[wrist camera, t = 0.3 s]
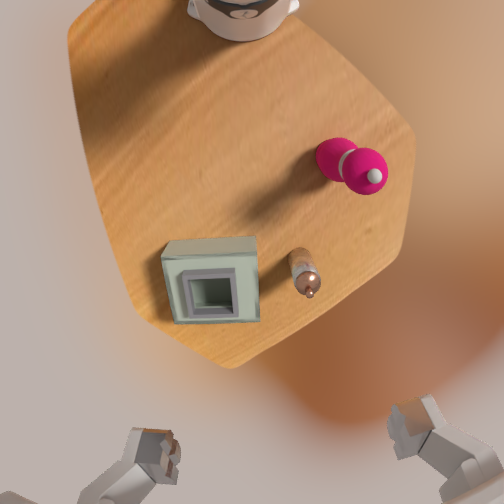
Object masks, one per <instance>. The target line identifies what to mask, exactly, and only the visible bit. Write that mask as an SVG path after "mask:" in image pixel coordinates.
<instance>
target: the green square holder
mask: <svg viewBox="0 0 504 504" xmlns="http://www.w3.org/2000/svg"><path fill="white" fill-rule="evenodd" d="M160 257H161V262H162V267H163V273H164V278H165V283H166V288H167V292H168V297H169V302H170V306H171V311H172V315H173V320H174V324H219V323H246V322H260V305H259V285H258V264H257V246H256V236H242V237H224V238H206V239H190V240H173V241H169V243H168V245H167V246H166V248H165V250H164V251H163V253H162V255H161V256H160Z"/></svg>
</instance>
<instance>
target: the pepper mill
mask: <svg viewBox="0 0 504 504" xmlns="http://www.w3.org/2000/svg"><path fill="white" fill-rule="evenodd" d="M316 162H317V165H318V166H319V168H320V170H321V172H322V173H323V174H324V175H325V176H326V177H327V178H329V179H331V180H333V181H336V182H345V183H346V185H347V186H348V187H349V188H350V189H351V190H352V191H354V192H356V193H358V194H362V195H370V194H374V193H376V192H378V191H379V190H380V189H382V187H383V186H384V185H385V183H386V181H387V178H388V168H387V164H386V162H385V160H384V158H383V157H382V156H381V155H380V154H379V153H378V152H376V151H375V150H372V149H369V148H358V147H357V146H356V145H355V144H354V143H353V142H351V141H350V140H347V139H345V138H333V139H329V140H326V141H324V142H323V143H321V144H320V145H319V147H318V149H317V151H316Z"/></svg>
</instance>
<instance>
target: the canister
mask: <svg viewBox="0 0 504 504" xmlns="http://www.w3.org/2000/svg"><path fill="white" fill-rule="evenodd" d="M288 262H289V266H290V270H291V274H292V277H293V281H294V285H295V287H296V289H297V290H298V292H299V293H301V294H303V295H306V297H307V298H312V297H313V296H314V293H316V292H317V291H318V290H319V288H320V285H321V279H320V275H319V273H318V271H317V268H316V266H315V264H314V262H313V259H312V257H311V255H310V253H309V251H308V250H306V249H305V248H296V249H294V250H292V251H291V252H290V254H289V256H288Z"/></svg>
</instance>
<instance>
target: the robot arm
mask: <svg viewBox="0 0 504 504" xmlns="http://www.w3.org/2000/svg"><path fill="white" fill-rule="evenodd" d="M193 5H194V6H193ZM298 8H299V2H298V0H293V1H292V0H189V4H188V8H187V12H188V15H189V16H191V17H193V18H195V19H197V20H200V21H202V22H203V23H204V24H205V25H206V26H207V27H208V28H209V29H210V30H211V31H212V32H214V33H215V34H217V35H218V36H220V37H223V38H225V39H229V40H233V41H252V40H256V39H260V38H262V37H265V36H267V35H269V34H270V33H272V32H273V31H274V30H275V29H277V28H278V26H279V25H280V24H281V23H282V21H283V20H284V19H285V18H286V17H287V16H289V15H291V14H292V13H294V12H296V11H297V10H298ZM391 411H392V414H391V415H390V416H389V418H388V421H387V428H388V432H389V436H390V438H391V439H393V440H394V441H396V442H395V444H394V450H395V453H396V456H397V458H398V460H401V459H404V458H407V457H411V456H414V455H417V454H418V456H419V457H420V458H422V459H423V460H424V461H426V462H427V463H428V464H430V465H431V466H432V467H433V468H434V469H436V470H437V471H438V472H440V473H441V474H442V475H444V476H445V477H446V478H447V479H448V480H447V481H446V482H445V483H444V484H443V485H442V486H441V488H440V489H439V492H440V495H441V498H442V501H443V503H442V504H504V469H503V467H502V465H501V463H500V461H499V459H498V457H497V455H496V453H495V451H494V449H493V447H492V446H490V445H488V444H487V443H485V442H483V441H481V440H479V439H477V438H476V437H474V436H472V435H470V434H468V433H466V432H465V431H463V430H461V429H459V428H457V427H456V426H454V425H452V424H447V423H446V421H445V420H444V418H443V416H442V414H441V412H440V410H439V408H438V406H437V404H436V403H435V401H434V399H433V397H432V395H430V394H426V395H423V396H420V397H416V398H413V399H410V400H406V401H403V402H400V403H396V404H394V405H393V406H392V408H391ZM173 435H174V434H173V433H172V431H171V430H161V429H146V428H132V429H131V431H130V433H129V436H128V440H127V443H126V446H125V449H124V453H123V456H122V460H121V461H117V462H116V463H115V464H113V465H112V466H111V467H110V468H109V469H107V471H105V472H104V473H103V474H102V475H100V476H99V477H98V478H97V479H96V480H95V481H93V482H92V483H91V484H90V485H88V486H87V487H86V488H85V489H84V490H82V491H81V493H80V496H79V499H78V502H77V504H140V503H141V501H142V500H143V499H144V498H145V497H146V496H147V495H148V494H149V492H150V491H151V490H152V489H153V488H154V487H155V485H156V483H159V484H172V485H176V484H177V478H178V469H177V468H176V465H177V464H178V463H179V462H180V458H181V448H180V445H179V443H178V441H177V440H175V439H173ZM0 504H37V503H35V502H33V501H30V500H28V499H26V498H24V497H22V496H20V495H18V494H16V493H14V492H11V491H6V492H4V493H2V494H0Z"/></svg>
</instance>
